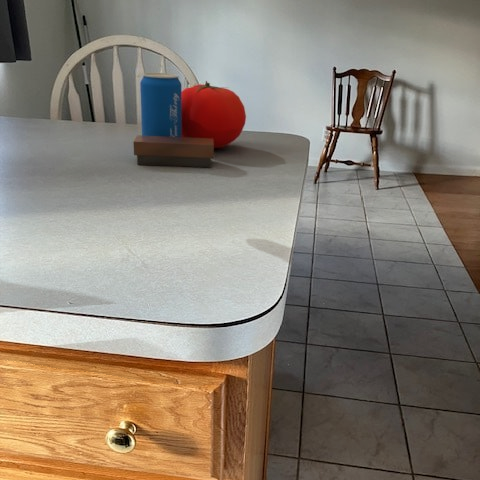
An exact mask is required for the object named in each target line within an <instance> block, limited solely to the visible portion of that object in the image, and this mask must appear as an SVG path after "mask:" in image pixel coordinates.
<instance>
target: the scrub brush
mask: <svg viewBox="0 0 480 480" xmlns="http://www.w3.org/2000/svg"><path fill="white" fill-rule="evenodd" d="M214 150H215V148H214V141H213V138H189V137H166V136H142V134H140V135H139V134H137V135H136V136H135V138H134V140H133V155H134V156H136V164H137V166H138V165H139V166H161V167H184V168H185V167H186V168H187V167H188V168H211V166H212V165H211V164H212V159H214V156H215V155H214V154H215V153H214Z"/></svg>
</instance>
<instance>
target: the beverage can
mask: <svg viewBox="0 0 480 480" xmlns="http://www.w3.org/2000/svg"><path fill="white" fill-rule="evenodd" d="M179 77H180V76H179V75H178V74H174V73H165V72H144V73H142V78H141V80H140V83H139V84H140V85H139V87H140V90H139V91H140V116H141V135H142V136H166V137H181V92H182V83H181V81H180V79H179Z"/></svg>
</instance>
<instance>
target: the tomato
mask: <svg viewBox="0 0 480 480" xmlns="http://www.w3.org/2000/svg"><path fill="white" fill-rule="evenodd" d="M246 121H247V113H246V109H245V105H244V104H243V102H242V100H241V98H240V97H239V96H238V94H236V93H235V92H234V91H233V90H231V89H229V88H226V87H220V86H219V87H218V86H214V85H211V83H210V82H208V81H207V80H205V84H203V83H202V84H196V85H193V86H191V87H186V88H184V89H183V90H181V137H189V138H213V141H214V149H221V148H223V147H226V146H228V145H230V144H231V143H232V142H234V141H236V139H238V138H239V137H240V136H241V133H242V132H243V130H244V127H245V125H246Z"/></svg>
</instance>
